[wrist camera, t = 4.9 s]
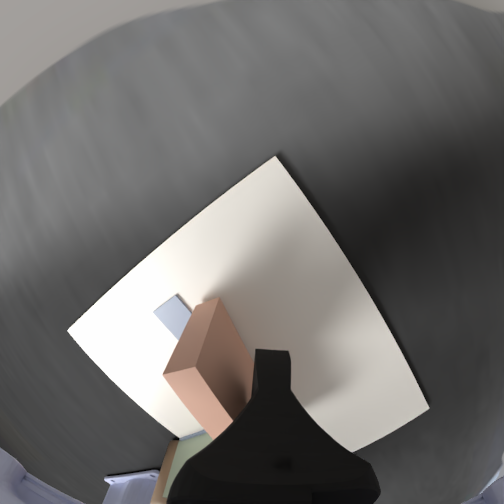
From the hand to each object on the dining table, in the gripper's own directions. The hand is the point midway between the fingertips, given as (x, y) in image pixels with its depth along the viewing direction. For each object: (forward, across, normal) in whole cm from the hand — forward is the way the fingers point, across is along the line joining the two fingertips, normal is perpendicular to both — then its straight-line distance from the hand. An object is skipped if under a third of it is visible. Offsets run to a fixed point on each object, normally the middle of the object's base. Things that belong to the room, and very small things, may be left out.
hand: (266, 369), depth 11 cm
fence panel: (+2, +1, +2) cm, 3 cm away
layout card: (+3, 0, +4) cm, 5 cm away
